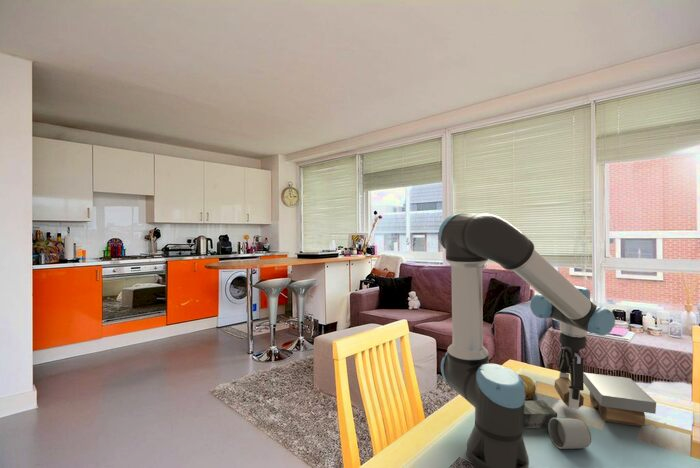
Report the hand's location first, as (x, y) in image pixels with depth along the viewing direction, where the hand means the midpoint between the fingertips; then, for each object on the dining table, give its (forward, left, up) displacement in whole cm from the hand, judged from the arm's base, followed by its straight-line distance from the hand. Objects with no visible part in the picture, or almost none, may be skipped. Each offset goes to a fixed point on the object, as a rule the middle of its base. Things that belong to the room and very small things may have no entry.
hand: (567, 399), depth 118 cm
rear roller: (+14, +6, -4) cm, 16 cm away
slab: (+14, +2, +2) cm, 15 cm away
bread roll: (-13, +6, -4) cm, 15 cm away
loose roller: (0, 0, 0) cm, 0 cm away
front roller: (+14, -2, -4) cm, 15 cm away
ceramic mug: (-6, -19, -4) cm, 20 cm away
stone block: (-14, -10, -4) cm, 18 cm away
